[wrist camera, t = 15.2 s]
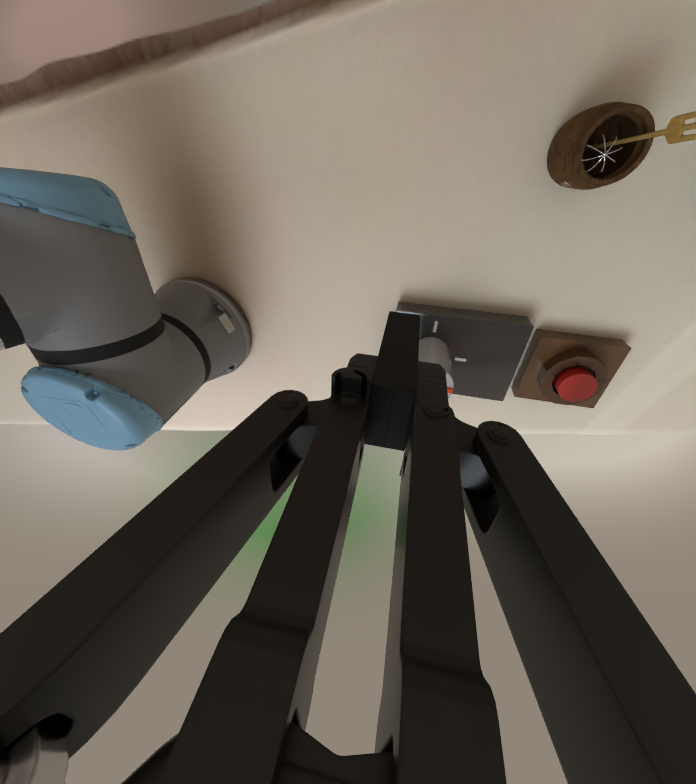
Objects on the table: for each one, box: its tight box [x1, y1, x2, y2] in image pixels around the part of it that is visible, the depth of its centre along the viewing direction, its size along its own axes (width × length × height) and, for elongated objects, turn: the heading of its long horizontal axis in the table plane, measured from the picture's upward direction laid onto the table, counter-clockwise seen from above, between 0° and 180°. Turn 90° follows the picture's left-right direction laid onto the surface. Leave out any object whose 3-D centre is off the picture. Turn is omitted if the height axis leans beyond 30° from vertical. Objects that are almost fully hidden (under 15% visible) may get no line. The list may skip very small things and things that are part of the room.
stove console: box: [396, 302, 534, 401], centre depth 43 cm, size 16×11×3 cm
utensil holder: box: [547, 102, 696, 190], centre depth 26 cm, size 6×6×12 cm
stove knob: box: [418, 337, 454, 398], centre depth 39 cm, size 5×5×8 cm
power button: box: [554, 367, 597, 402], centre depth 39 cm, size 4×4×2 cm
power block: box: [511, 330, 631, 408], centre depth 41 cm, size 10×9×4 cm
